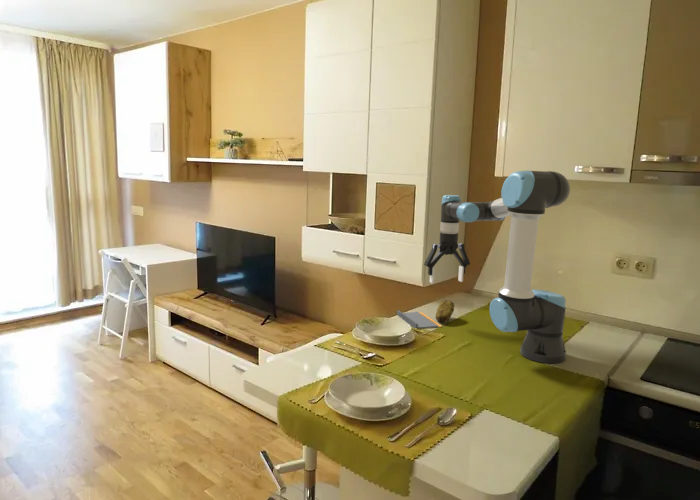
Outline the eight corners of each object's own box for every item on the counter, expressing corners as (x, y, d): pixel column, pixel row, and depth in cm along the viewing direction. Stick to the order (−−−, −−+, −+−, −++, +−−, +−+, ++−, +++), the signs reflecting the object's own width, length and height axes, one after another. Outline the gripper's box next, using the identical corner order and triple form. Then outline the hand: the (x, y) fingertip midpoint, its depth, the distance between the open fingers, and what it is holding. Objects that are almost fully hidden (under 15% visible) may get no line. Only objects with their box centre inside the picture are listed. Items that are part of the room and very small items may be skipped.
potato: (427, 321, 217) (428, 303, 216) (442, 315, 227) (443, 297, 226) (444, 325, 212) (446, 307, 211) (459, 319, 222) (461, 301, 221)
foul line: (442, 326, 211) (442, 326, 211) (439, 327, 210) (439, 326, 210) (421, 312, 230) (421, 312, 229) (419, 313, 229) (419, 312, 229)
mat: (437, 327, 210) (437, 322, 210) (415, 329, 207) (416, 324, 207) (417, 313, 229) (417, 308, 229) (396, 314, 226) (397, 310, 226)
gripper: (471, 230, 220) (467, 278, 224) (418, 231, 213) (415, 281, 217) (480, 233, 213) (476, 282, 217) (425, 234, 206) (423, 285, 210)
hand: (446, 282), depth 217 cm, fingers open, 13 cm apart
